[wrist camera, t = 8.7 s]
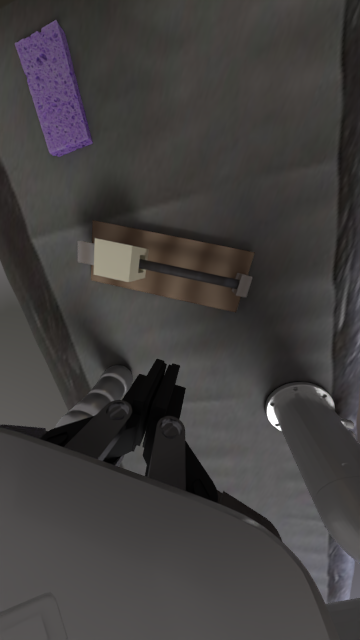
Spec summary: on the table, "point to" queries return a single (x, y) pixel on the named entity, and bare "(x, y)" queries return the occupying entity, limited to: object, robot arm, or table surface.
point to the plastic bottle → (101, 394)
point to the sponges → (54, 89)
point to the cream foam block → (118, 260)
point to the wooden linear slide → (178, 266)
